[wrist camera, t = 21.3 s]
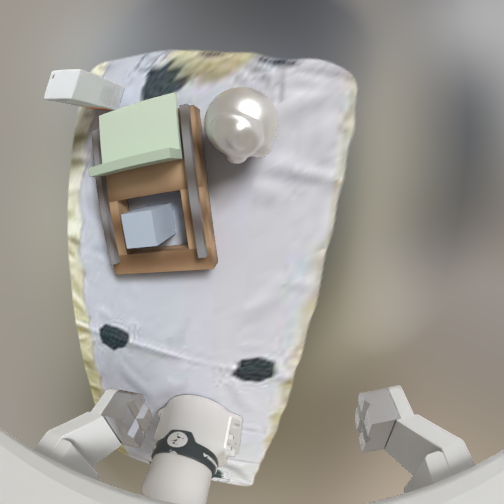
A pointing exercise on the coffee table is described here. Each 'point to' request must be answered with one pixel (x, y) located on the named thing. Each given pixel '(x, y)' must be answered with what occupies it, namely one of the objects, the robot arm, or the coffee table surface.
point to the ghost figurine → (242, 124)
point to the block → (148, 225)
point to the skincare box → (83, 90)
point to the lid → (139, 135)
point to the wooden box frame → (153, 182)
